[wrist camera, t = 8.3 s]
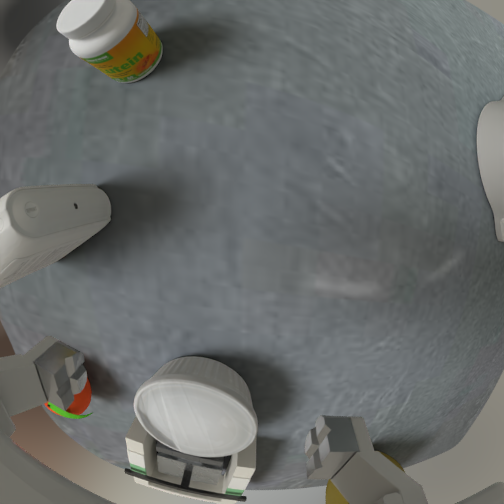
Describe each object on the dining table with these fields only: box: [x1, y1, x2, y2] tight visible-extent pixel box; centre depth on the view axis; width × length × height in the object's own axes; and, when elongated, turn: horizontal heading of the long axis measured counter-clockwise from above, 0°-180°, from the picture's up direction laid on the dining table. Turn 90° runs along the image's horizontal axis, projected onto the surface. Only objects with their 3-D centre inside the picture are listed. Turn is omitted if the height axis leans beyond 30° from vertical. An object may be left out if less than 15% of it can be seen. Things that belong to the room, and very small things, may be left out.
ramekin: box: [134, 356, 258, 457], centre depth 22 cm, size 11×11×5 cm
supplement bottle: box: [57, 0, 163, 83], centre depth 13 cm, size 5×5×10 cm
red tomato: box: [44, 377, 92, 419], centre depth 22 cm, size 8×7×7 cm
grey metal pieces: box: [125, 441, 246, 501], centre depth 24 cm, size 15×10×6 cm
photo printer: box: [0, 184, 111, 288], centre depth 15 cm, size 10×4×12 cm, turn 116°
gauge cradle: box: [125, 416, 257, 504], centre depth 25 cm, size 14×13×5 cm
